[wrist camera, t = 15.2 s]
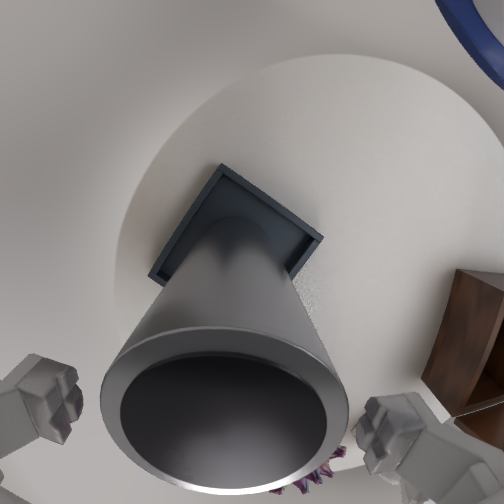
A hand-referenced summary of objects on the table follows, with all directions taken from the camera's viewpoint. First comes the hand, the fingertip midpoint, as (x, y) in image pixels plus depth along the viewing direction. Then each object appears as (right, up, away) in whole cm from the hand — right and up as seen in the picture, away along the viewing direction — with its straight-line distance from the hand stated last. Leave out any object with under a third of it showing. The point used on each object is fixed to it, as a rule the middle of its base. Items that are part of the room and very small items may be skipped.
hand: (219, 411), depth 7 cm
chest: (+28, -5, +22) cm, 37 cm away
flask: (-1, +4, +19) cm, 19 cm away
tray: (-1, +4, +19) cm, 20 cm away
